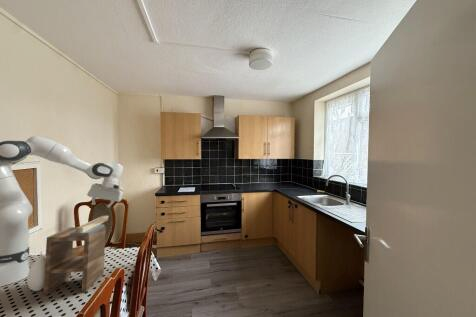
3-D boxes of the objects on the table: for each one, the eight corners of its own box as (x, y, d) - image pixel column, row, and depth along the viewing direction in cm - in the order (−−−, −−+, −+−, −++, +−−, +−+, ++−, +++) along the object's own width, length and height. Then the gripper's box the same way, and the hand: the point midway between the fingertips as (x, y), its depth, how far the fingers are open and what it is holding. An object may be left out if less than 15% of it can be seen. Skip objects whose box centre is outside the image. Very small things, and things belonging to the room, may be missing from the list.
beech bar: (75, 233, 88) (75, 228, 88) (102, 219, 110) (102, 215, 110) (82, 233, 89) (82, 227, 89) (108, 219, 110) (108, 215, 110)
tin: (60, 266, 109) (61, 251, 110) (59, 264, 111) (60, 249, 112) (92, 256, 121) (92, 243, 121) (91, 255, 123) (91, 242, 123)
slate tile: (70, 236, 88) (70, 233, 88) (88, 227, 101) (88, 224, 101) (88, 235, 89) (88, 232, 89) (104, 226, 102) (104, 224, 102)
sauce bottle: (21, 296, 84) (24, 256, 85) (35, 285, 91) (37, 248, 92) (42, 294, 86) (45, 254, 86) (54, 283, 93) (56, 247, 94)
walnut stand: (43, 294, 85) (46, 237, 86) (66, 276, 99) (69, 227, 100) (86, 291, 88) (89, 236, 89) (103, 274, 102) (105, 226, 103)
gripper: (90, 181, 123) (80, 202, 118) (122, 187, 125) (114, 208, 120) (95, 183, 129) (86, 203, 123) (126, 189, 131) (118, 209, 126)
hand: (100, 206), depth 122 cm, fingers open, 8 cm apart
